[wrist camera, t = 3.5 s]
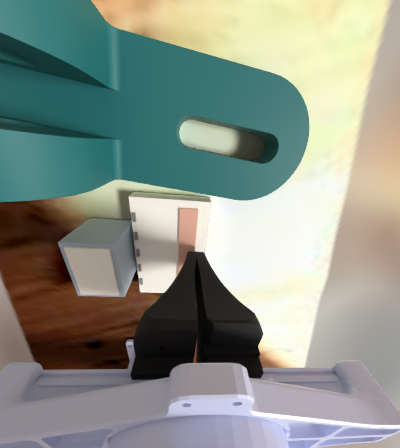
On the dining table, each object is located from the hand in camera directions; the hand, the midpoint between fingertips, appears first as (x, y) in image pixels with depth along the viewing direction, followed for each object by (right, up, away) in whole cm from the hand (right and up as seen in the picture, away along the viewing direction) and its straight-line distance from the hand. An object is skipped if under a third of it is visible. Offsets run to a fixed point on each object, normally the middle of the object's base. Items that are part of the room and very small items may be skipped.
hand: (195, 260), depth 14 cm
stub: (-7, +1, +1) cm, 7 cm away
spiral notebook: (-2, +1, +2) cm, 3 cm away
